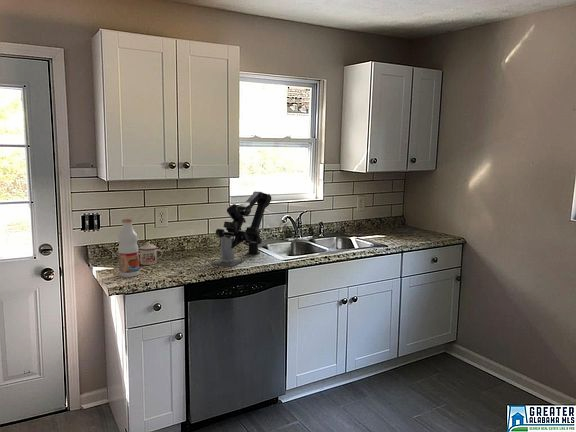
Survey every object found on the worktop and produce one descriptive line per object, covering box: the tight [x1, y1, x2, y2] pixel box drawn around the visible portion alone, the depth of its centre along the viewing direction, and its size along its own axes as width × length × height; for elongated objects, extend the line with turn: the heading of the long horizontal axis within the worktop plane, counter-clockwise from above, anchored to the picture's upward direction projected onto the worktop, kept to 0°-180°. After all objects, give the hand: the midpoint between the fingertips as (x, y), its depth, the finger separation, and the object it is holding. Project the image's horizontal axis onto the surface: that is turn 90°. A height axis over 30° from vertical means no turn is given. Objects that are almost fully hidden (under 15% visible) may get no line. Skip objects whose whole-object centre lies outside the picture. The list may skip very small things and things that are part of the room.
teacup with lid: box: [139, 242, 163, 266], centre depth 261 cm, size 12×9×12 cm
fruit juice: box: [117, 218, 140, 278], centre depth 235 cm, size 9×9×28 cm
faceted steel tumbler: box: [220, 236, 235, 260], centre depth 262 cm, size 7×7×12 cm
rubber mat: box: [210, 258, 244, 268], centre depth 263 cm, size 13×13×3 cm
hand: (226, 247), depth 261 cm, fingers closed on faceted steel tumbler, 7 cm apart
